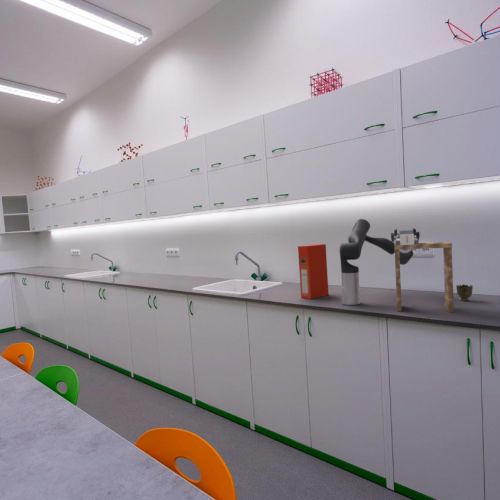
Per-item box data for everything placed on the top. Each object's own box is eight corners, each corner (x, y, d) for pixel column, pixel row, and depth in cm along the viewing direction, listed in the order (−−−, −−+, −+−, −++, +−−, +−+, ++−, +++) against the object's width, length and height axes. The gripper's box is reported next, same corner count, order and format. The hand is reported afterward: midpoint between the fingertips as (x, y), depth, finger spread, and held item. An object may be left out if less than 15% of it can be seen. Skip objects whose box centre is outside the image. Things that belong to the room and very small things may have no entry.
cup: (453, 300, 188) (452, 285, 188) (462, 298, 191) (462, 283, 191) (466, 302, 181) (466, 287, 181) (476, 300, 184) (476, 285, 184)
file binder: (300, 298, 220) (297, 246, 218) (318, 293, 231) (315, 244, 229) (311, 299, 214) (308, 246, 212) (328, 294, 225) (326, 244, 223)
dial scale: (395, 245, 169) (395, 234, 169) (395, 243, 182) (395, 234, 181) (418, 244, 166) (418, 233, 166) (417, 242, 178) (416, 232, 178)
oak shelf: (397, 311, 172) (394, 245, 170) (396, 305, 184) (394, 243, 182) (454, 312, 163) (451, 243, 161) (449, 306, 175) (447, 241, 173)
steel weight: (399, 239, 172) (399, 231, 172) (399, 237, 190) (398, 230, 190) (413, 238, 170) (413, 230, 170) (411, 237, 188) (411, 229, 188)
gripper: (391, 238, 206) (390, 224, 193) (418, 237, 201) (419, 223, 188) (391, 250, 203) (390, 237, 190) (419, 249, 198) (420, 235, 184)
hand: (405, 230), depth 189 cm, fingers open, 8 cm apart
